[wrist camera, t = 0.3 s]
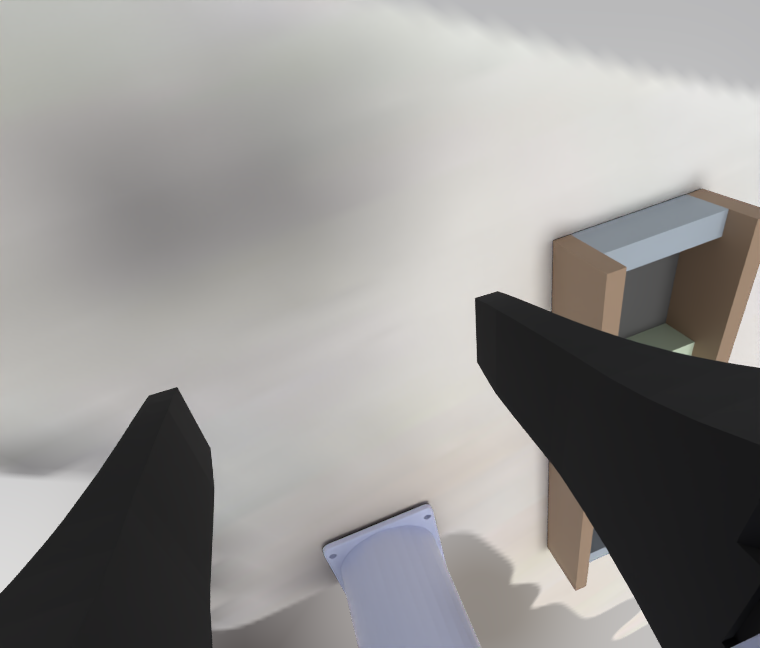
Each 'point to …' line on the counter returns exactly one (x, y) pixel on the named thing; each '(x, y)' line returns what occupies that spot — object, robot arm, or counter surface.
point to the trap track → (651, 307)
